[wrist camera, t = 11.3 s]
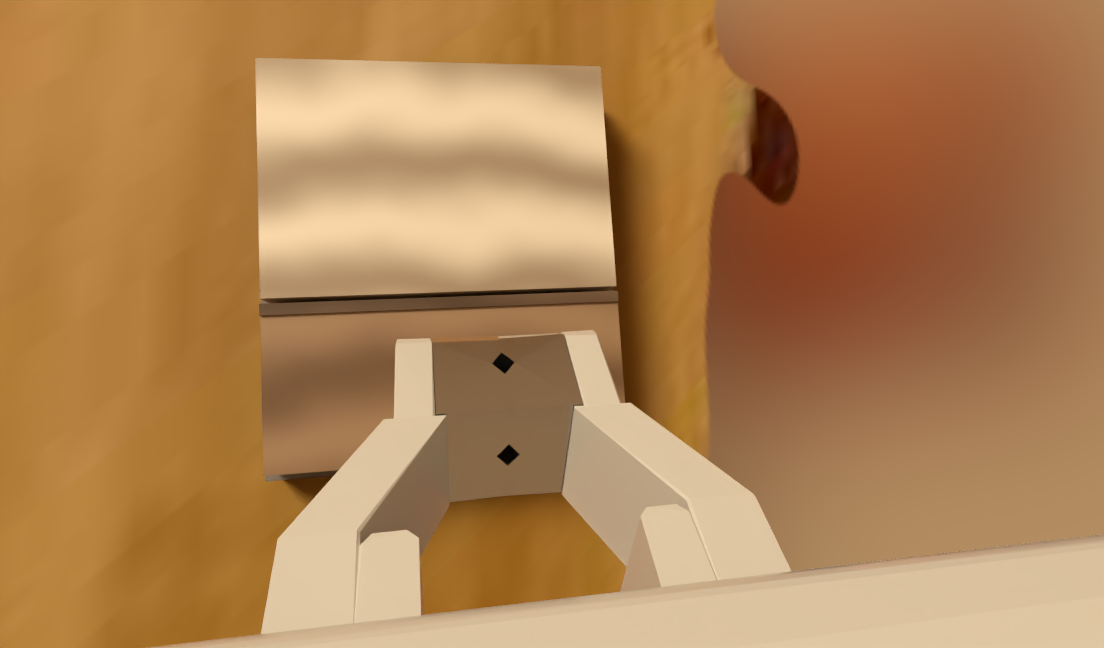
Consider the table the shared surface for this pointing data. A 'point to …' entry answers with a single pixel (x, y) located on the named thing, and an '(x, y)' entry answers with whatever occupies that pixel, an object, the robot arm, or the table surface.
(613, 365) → the grey flat block
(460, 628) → the robot arm
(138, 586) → the table surface
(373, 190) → the plank
